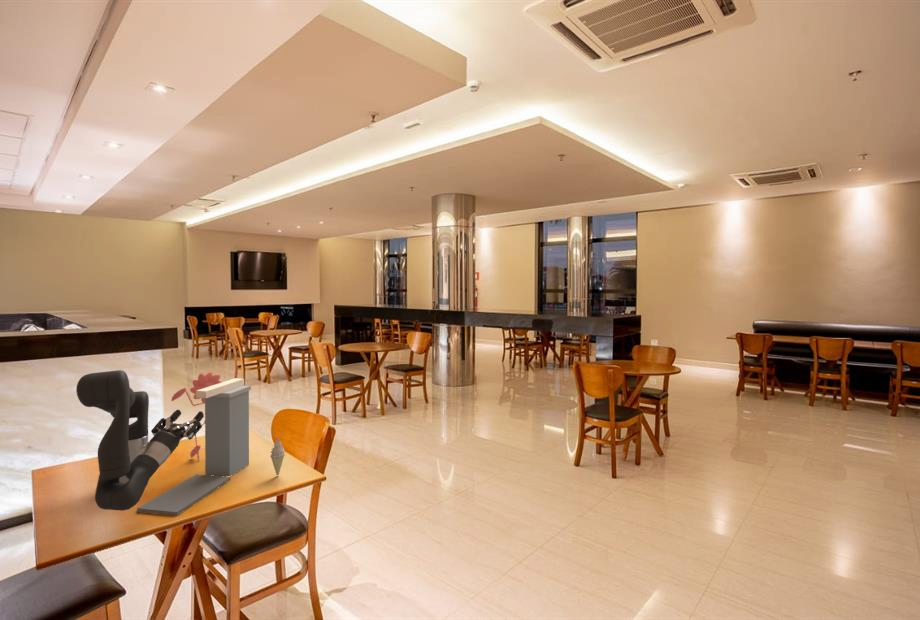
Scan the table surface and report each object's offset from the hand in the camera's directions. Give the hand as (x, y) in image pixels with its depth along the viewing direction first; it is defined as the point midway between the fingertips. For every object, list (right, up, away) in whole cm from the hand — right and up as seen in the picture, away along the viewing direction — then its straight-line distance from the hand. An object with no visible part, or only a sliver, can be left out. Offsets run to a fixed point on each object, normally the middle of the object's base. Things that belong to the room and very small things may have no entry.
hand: (190, 412), depth 154 cm
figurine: (-15, -26, +36) cm, 47 cm away
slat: (+2, +4, +16) cm, 16 cm away
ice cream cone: (+23, -28, +16) cm, 40 cm away
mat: (-1, -28, 0) cm, 28 cm away
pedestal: (+2, -27, +21) cm, 34 cm away
